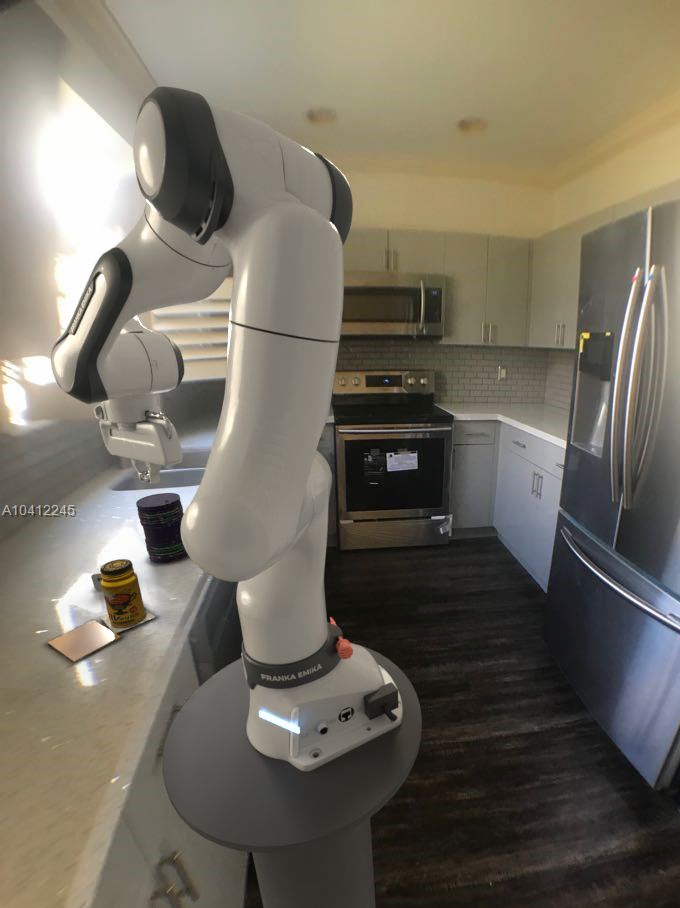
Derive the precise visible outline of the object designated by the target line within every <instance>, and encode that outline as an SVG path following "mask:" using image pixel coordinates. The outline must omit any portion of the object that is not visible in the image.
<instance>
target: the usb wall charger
mask: <svg viewBox="0 0 680 908" xmlns="http://www.w3.org/2000/svg"><path fill="white" fill-rule="evenodd" d="M102 565H103V564H100V565H99V566H98V567H97V568H96V570H95V571H94V572H92V574H91V576H90V578H91V581H92V584H93V587H94V589H95V590H96V591H102V586H101V581H102V577H101V572H100V568H101V567H102Z"/></svg>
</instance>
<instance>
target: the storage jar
mask: <svg viewBox="0 0 680 908" xmlns="http://www.w3.org/2000/svg"><path fill="white" fill-rule="evenodd" d="M135 506H136V508H137V509H136V510H137V515H138V519H139V523H140V525H141V527H142V530H143V535H144V537H145V538H144V543H145V548H146V552H147V555H148V556H149V557H148V558H149V562H151V563H152V564H155V565H169V564H173V563H177V562H180V561H183V560H185V559H186V558H188V557H189V555H188V553H187V552H186V550H185V547H184V545H183V542H182V538H181V521H182V517H183V515H184V513H185V512H184V508H183V504H182V501H181V496H180V494H179V493H175V492H161V493H155V494H150V495H147V496H143V497H141V498H140V499H137V501H136V502H135Z"/></svg>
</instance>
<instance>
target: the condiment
mask: <svg viewBox="0 0 680 908" xmlns="http://www.w3.org/2000/svg"><path fill="white" fill-rule="evenodd" d="M101 565H102V567H101V568H100V572H101V577H102V581H101V586H102V590H101V591H102V594H103V598H104V602H105V606H106V612H107V613H105V614H103V615H100V616H99V617H100V618H101V620H102V621H103V622H104V623H105V624H106V626H107V628H108V629H109V630H111V631H113V632H114V633H116V634H118V633H121V632H123V631H126V630H129V629H131V628H133V627H136V626H139V625H141V624H144V623H146V622H148V621H150V620H153V619H155V618H156V616H154V615H153V614H152V613H151V612H150V611H149V610H148V609H147V607H145V606H144V600H143V596H142V592H141V587H140V582H139V578H138V575H137V572H135V569H134V565H133V562H132V561H131V560H130V559H127V558H118V559H114V560H111V561H108V562H105V563H104V564H101Z"/></svg>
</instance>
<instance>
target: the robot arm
mask: <svg viewBox="0 0 680 908" xmlns="http://www.w3.org/2000/svg"><path fill="white" fill-rule="evenodd" d="M132 157H133V163H134V170H135V175H136V181H137V184H138V187H139V190H140V193H141V195H142V196H143V197H144V199H145V203H144V207H143V210H142V212H141V215H140V217H139V219H138V220H137V222H136V223H135V225H134V226H133V228H132V229H131V231H130V232H129V233H128V234H127V235H126V236H125V237H124V238H123V239H122V240H121V241H120V242H118V244H116V245H115V246H114V247H111V248H110V249H108V250H107V251H106V252H104V253H103V254H101V255H100V257H99V258H98V260H96V263H95V265H94V266H93V269H92V270H91V273H90V275H89V277H88V279H87V281H86V284H85V286H84V288H83V290H82V293H81V294H80V298H79V299H78V302H77V304H76V307H75V308H74V311H73V313H72V315H71V318H70V320H69V323H68V324H67V327H66V328H65V330H64V331H63V332H62V334H61V335H60V336H59V337H58V338H57V340H56V341H55V342H54V344H53V346H52V348H51V352H50V364H51V371H52V375H53V377H54V379H55V382H56V383H57V385H58V387H59V388H60V389H61V390H62V391H63V392H64V393H66V394H67V395H69V396H70V397H72V398H74V399H76V400H77V401H79V402H82V403H84V404H87V405H93V404H97V405H96V406H94V407H93V408H92V409H93V415H94V417H95V419H97V420H99V422H98V424H99V430H100V433H101V436H102V440H103V442H104V445H105V448H106V450H107V451H108V453H109V454H110V455H112V456H116V457H121V458H125V459H130V462H131V465H132V466H133V468H134V469H135V471H136V473H137V475H138V476H137V477H138V480H139V481H140V482H144V483H149V484H153V485H155V484H159V483H161V476H160V473H161V469H162V466H163V467H170V466H174V465H177V464H180V463H182V462H183V458H184V453H183V449H182V445H181V442H180V439H179V434H178V432H177V429H176V427H175V426H174V424H173V423H172V422H171V421H170V419H168V417H167V416H166V414H165V413H163V412H162V410H161V403H160V400H159V395H158V394H161V393H167V392H171V391H173V390H174V391H175V390H176V389H178V387H179V386H180V384H181V383H182V381H183V378H184V376H185V363H184V357H183V355H182V352H181V349H180V348H179V346H178V345H177V344H176V342H174V340H172V339H171V338H170V337H168V336H167V335H166V334H164V333H163V334H161V333H157V332H155V331H153V330H151V329H149V328H147V327H145V326H144V325H143V324H142V322H141V321H140V319H139V317H138V316H139V315H140V316H141V315H142V314H144V313H147V312H151V311H154V310H155V311H156V310H159V309H163V308H167V307H169V308H170V307H174V306H180V305H186V304H191V303H196V302H200V301H203V300H204V299H207V298H208V297H210V296H212V295H213V294H214V293H215V292H216V291H217V290H218V289H219V288H220V287H221V286H222V284H223V283H224V282H225V280H226V278H227V277H228V275H229V274H230V271H231V269H232V268H233V273H232V274H233V275H232V276H233V277H232V286H231V287H232V288H231V294H230V305H229V321H228V337H227V355H226V369H225V370H226V372H225V385H224V386H225V387H224V396H223V403H222V407H221V411H220V416H219V420H218V424H217V428H216V431H215V435H214V438H213V442H212V444H211V448H210V452H209V455H208V459H207V463H206V465H205V469H204V473H203V476H202V477H201V480H200V483H199V485H198V488H197V490H196V492H195V494H194V496H193V498H192V499H191V501H190V503H189V505H188V506H187V507H186V509H185V510H184V512H183V513H184V515H183V517H182V521H181V538H182V542H183V545H184V547H185V550H186V552H187V553H188V555H189V556H188V557H189V558H190V560H191V561H192V562H193V564H195V565H196V566H197V567H198V569H200V570H201V571H202V572H204V573H205V574H207V575H209V576H210V577H213V578H215V579H217V580H220V581H224V582H230V583H237V586H236V597H235V599H236V605H237V611H238V617H239V622H240V628H241V634H242V639H243V640H242V642H241V658H242V661H243V667H244V672H245V677H246V681H247V682H248V685H249V687H250V707H249V715H248V720H247V735H248V738H249V741H250V742H251V744H252V745H253V746H254V748H255V749H257V750H258V751H259V752H261V753H262V754H264V755H266V756H269V757H272V758H276V759H280V760H285V761H288V762H290V763H291V764H292V765H294V766H295V767H296V768H298V769H299V770H301V771H305V772H308V771H312V770H314V769H316V768H318V767H320V766H321V765H323V764H325V763H327V762H329V761H331V760H333V759H335V758H337V757H339V756H341V755H343V754H345V753H347V752H349V751H351V750H353V749H355V748H357V747H358V746H360V745H362V744H364V743H366V742H368V741H370V740H372V739H374V738H376V737H378V736H380V735H382V734H384V733H386V732H388V731H390V730H392V729H393V728H395V727H397V726H399V725H400V724H401V722H402V718H403V706H402V700H401V696H400V694H399V691H398V689H397V687H396V685H395V683H394V681H393V680H392V678H391V677H390V675H389V674H388V673H387V672H386V671H385V670H384V669H383V668H382V667H381V666H379V665H378V664H377V662H376V661H375V659H374V658H373V657H372V655H371V654H370V653H369V652H368V651H367V650H366V649H365V648H363V647H364V646H363V645H360V644H357V643H353V642H350V640H348V639H346V638H344V635H343V634H344V633H343V631H342V629H341V627H339V626H338V625H337V624H336V621H335V620H334V618H333V617H332V616H330V617H329V619H330V622H329V621H328V618H327V604H326V592H325V568H326V567H325V566H326V555H327V543H328V525H329V506H330V505H329V503H330V497H331V491H332V486H333V473H332V469H331V466H330V465H329V462H328V461H327V459H326V458H325V457H324V455H323V454H322V453H321V452H319V451H318V450H317V449H318V446H319V442H320V439H321V436H322V434H323V431H324V428H325V427H326V424H327V422H328V420H329V416H330V411H331V405H332V397H333V389H334V384H335V383H334V381H335V377H336V369H337V362H338V357H339V356H338V354H339V348H340V340H341V333H342V325H343V313H344V296H345V295H344V294H345V263H344V245H345V244H346V240H347V239H348V236H349V233H350V230H351V226H352V221H353V213H354V212H353V211H354V204H353V202H354V201H353V194H352V189H351V186H350V183H349V181H348V179H347V177H346V176H345V175H344V173H343V172H342V171H341V170H340V169H339V168H338V167H337V165H335V164H334V163H332V161H331V160H329V159H328V158H326V157H325V156H324V155H322V154H320V153H318V152H312V151H310V150H309V149H308V148H305V147H304V146H302V145H301V144H299V143H298V142H296V141H295V140H293V139H291V138H289V137H288V136H286V135H285V134H283V133H281V132H279V131H277V130H275V129H274V128H273V127H272V126H270V125H269V124H268V123H267V122H264V121H262V120H259V119H258V118H255V117H253V116H251V115H249V114H246V113H244V112H241V111H238V110H236V109H234V108H231V107H228V106H224V105H223V104H220V103H219V104H218V103H216V102H212V101H208V100H207V99H206V98H205V97H204V96H203V95H202V94H200V93H199V92H195V91H191V90H188V89H184V88H179V87H174V86H157V87H155V88H154V89H153V90H152V91H151V92H150V93H149V94H148V95H147V96H146V97H145V98H144V99H143V101H142V103H141V105H140V107H139V110H138V113H137V117H136V121H135V126H134V131H133V137H132ZM98 403H99V404H98ZM352 643H353V644H352ZM356 644H357V645H356ZM359 645H360V646H359ZM362 646H363V647H362ZM315 756H318V757H317V758H314V757H315Z"/></svg>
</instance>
